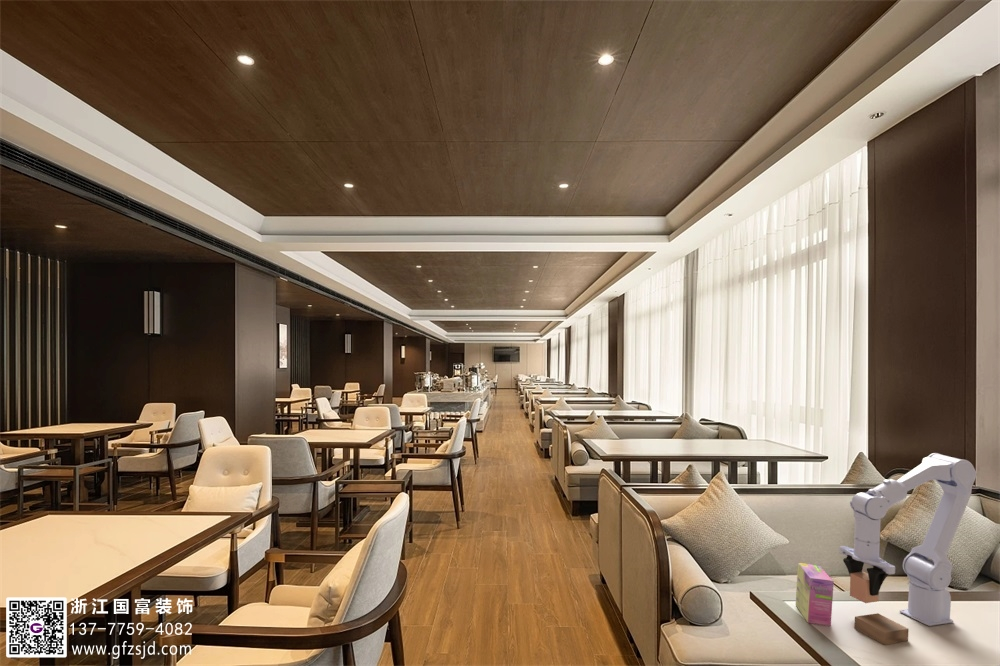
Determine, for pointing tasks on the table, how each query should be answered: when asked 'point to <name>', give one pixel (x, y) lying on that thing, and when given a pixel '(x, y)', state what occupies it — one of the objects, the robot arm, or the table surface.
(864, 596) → the peach cube
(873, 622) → the walnut slab
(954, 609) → the table surface
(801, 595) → the box
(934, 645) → the table surface
